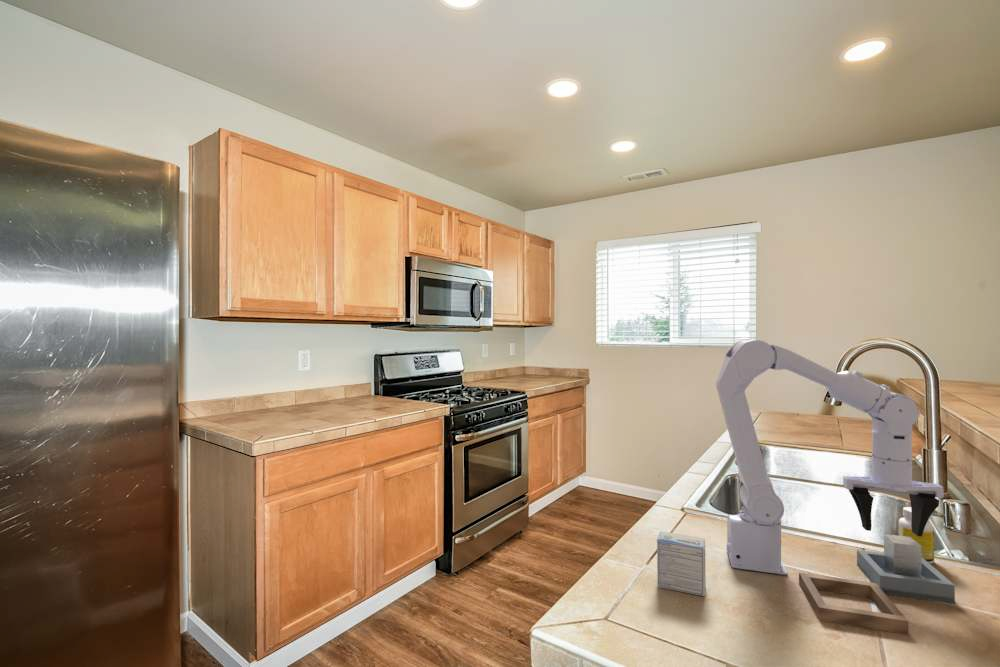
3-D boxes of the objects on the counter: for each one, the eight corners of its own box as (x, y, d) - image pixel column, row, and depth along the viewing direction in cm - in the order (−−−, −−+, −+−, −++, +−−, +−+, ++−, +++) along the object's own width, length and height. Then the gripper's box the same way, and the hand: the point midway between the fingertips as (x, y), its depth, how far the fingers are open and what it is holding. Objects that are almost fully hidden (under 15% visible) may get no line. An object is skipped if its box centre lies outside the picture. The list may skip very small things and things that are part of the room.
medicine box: (705, 585, 86) (705, 537, 86) (705, 598, 82) (704, 547, 82) (659, 576, 89) (659, 530, 89) (656, 587, 85) (656, 539, 85)
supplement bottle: (941, 566, 92) (941, 516, 92) (909, 564, 94) (908, 514, 94) (922, 554, 98) (922, 506, 98) (892, 551, 99) (892, 504, 99)
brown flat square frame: (819, 619, 75) (818, 607, 75) (798, 583, 86) (798, 572, 86) (908, 634, 72) (908, 621, 72) (875, 594, 83) (875, 583, 83)
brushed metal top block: (894, 582, 85) (893, 542, 85) (884, 571, 89) (883, 534, 89) (921, 585, 84) (921, 546, 84) (910, 575, 88) (910, 536, 88)
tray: (880, 592, 83) (880, 575, 83) (857, 565, 93) (856, 549, 93) (954, 603, 80) (954, 585, 80) (922, 573, 90) (922, 557, 90)
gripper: (852, 459, 86) (852, 534, 86) (953, 466, 82) (953, 546, 82) (839, 450, 93) (839, 520, 93) (931, 456, 88) (931, 530, 88)
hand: (891, 531), depth 88 cm, fingers open, 7 cm apart
